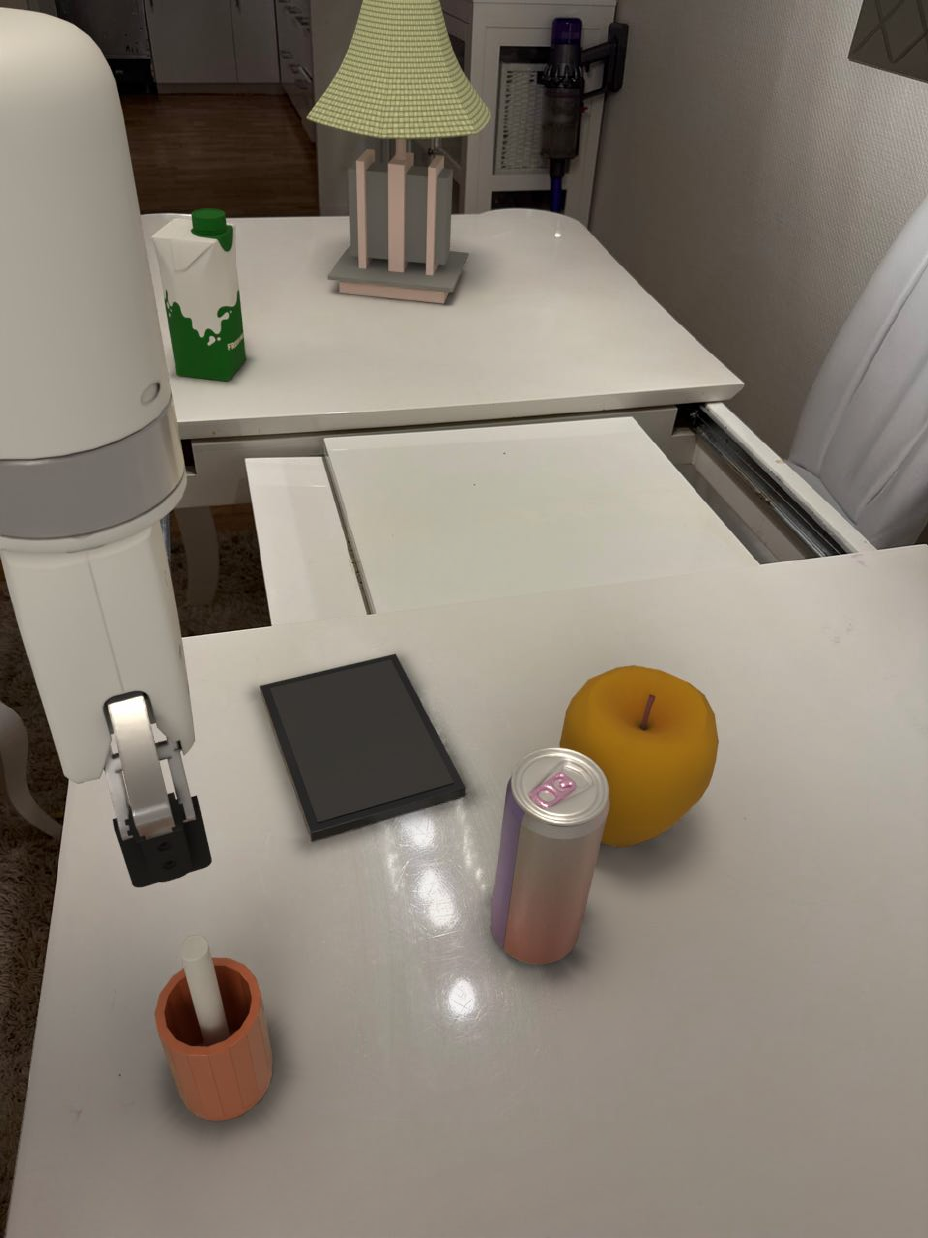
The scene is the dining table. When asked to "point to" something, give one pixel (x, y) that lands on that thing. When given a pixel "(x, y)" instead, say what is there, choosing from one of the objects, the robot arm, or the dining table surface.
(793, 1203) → the dining table surface
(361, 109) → the desk lamp
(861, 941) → the dining table surface
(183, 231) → the milk carton
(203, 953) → the stylus
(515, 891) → the beverage can
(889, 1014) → the dining table surface
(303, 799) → the tablet
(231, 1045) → the pen cup
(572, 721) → the apple
